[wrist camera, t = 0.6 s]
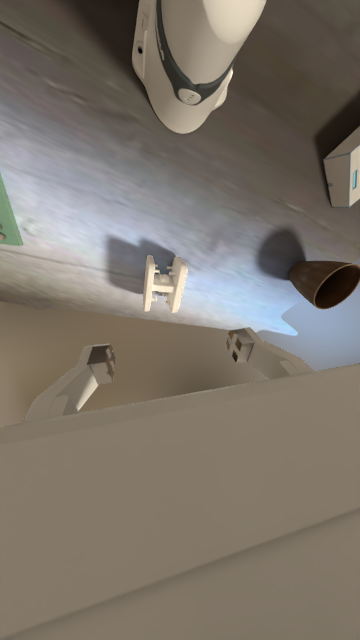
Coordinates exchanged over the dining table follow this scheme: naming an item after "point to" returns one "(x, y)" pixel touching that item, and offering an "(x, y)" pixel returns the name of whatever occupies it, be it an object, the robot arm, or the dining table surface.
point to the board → (7, 220)
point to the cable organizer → (165, 283)
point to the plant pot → (325, 281)
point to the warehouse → (344, 172)
